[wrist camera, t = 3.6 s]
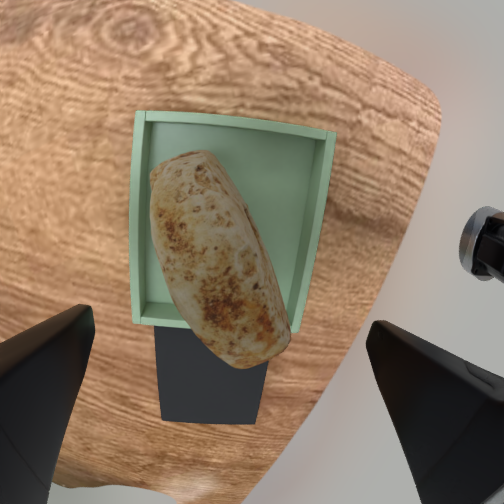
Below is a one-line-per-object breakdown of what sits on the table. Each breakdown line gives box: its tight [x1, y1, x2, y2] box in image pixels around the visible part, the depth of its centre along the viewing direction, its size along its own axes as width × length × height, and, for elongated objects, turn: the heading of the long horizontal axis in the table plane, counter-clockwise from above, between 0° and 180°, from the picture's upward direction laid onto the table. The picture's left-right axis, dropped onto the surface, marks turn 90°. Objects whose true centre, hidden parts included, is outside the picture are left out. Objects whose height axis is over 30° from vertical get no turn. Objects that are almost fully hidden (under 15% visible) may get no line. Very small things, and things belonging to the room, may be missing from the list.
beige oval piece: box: [150, 150, 291, 369], centre depth 15 cm, size 10×4×10 cm, turn 24°
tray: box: [129, 110, 337, 333], centre depth 19 cm, size 11×13×2 cm
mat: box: [154, 326, 269, 424], centre depth 25 cm, size 9×12×1 cm
